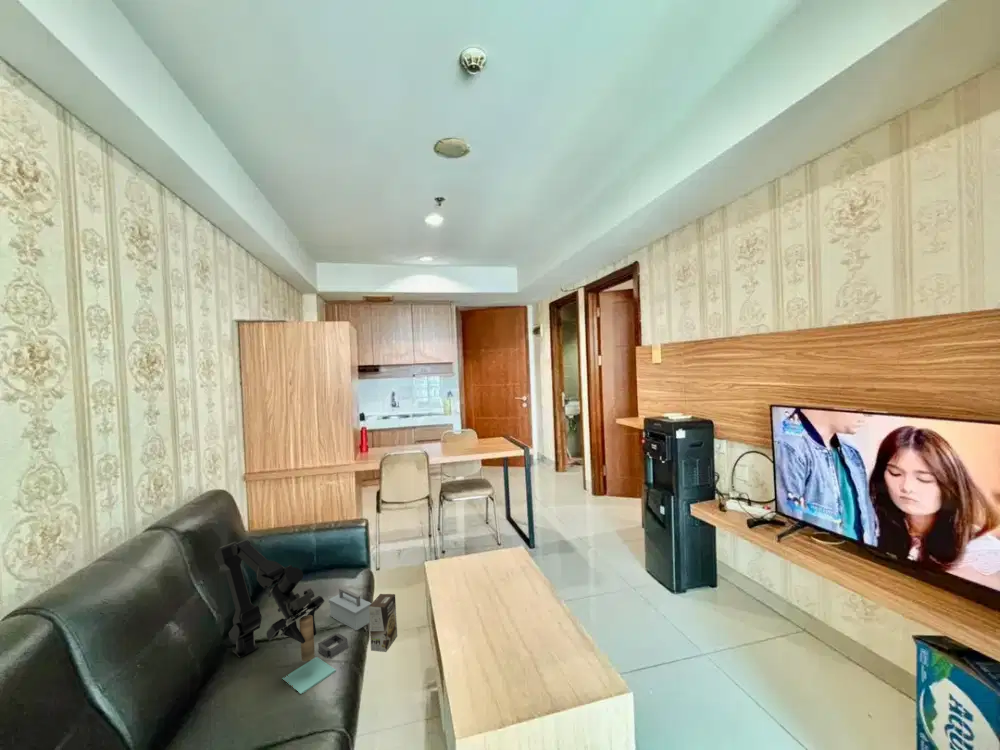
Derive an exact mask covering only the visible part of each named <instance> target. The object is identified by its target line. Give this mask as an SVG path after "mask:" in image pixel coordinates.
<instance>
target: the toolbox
mask: <svg viewBox="0 0 1000 750" xmlns="http://www.w3.org/2000/svg"><path fill="white" fill-rule="evenodd" d="M328 603H329V610H330V611H329V613H330V614H329V615H330V618H332V617H333V619H335V620H336V621H338V622H339V623H342V624H343V625H345V626H348V627H349V628H351V629H353V630H355V631H358V630H360V629H361V628H364V627H365V626H366V625H369V624H370V620H369V606H370V605H371V604H372V603H373V602H370V601H368V600H365V599H363V598H362V597H361V595H359V594H357V593H354V592H353V591H350V590H348V589H346V588H344V587H339V588H338V594H337V595H334V596H332V597H331V598H328Z"/></svg>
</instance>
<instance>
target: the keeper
mask: <svg viewBox="0 0 1000 750" xmlns="http://www.w3.org/2000/svg"><path fill="white" fill-rule="evenodd" d="M335 643H337V644H336V645H335V646H333V647H331V648H329V647H330V646H332V645H333V644H335ZM317 645H318V653H319V654H320V655H322V656H324V657H325V658H326V659H328V658H330V659H332V658H335V656H337V655H338V654H340V653H342V652H343V651H345V650H346V649H347V648H349V641H348V638H347V637H346V636H344V635H342V634H341V633H339V632H338V633H333V634H332V635H330V636H329V637H326V638H325V639H323V640H321V641H320V642H318V643H317Z"/></svg>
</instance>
